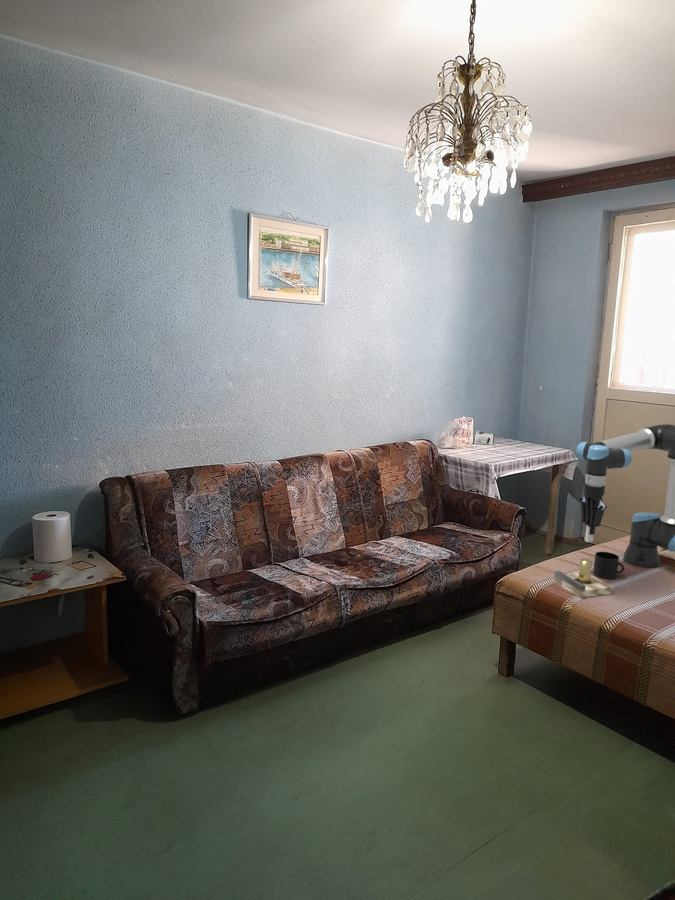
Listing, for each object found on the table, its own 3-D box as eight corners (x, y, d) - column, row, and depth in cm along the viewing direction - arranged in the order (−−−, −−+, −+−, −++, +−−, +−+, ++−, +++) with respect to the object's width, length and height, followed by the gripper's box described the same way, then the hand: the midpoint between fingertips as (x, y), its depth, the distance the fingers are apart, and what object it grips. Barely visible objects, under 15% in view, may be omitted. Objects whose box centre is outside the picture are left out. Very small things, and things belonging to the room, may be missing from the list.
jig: (585, 578, 270) (586, 567, 269) (612, 593, 255) (614, 582, 254) (553, 582, 264) (555, 571, 264) (580, 598, 250) (581, 586, 249)
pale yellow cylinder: (583, 585, 262) (586, 558, 260) (590, 589, 258) (594, 561, 256) (574, 586, 261) (577, 558, 259) (582, 590, 257) (585, 562, 255)
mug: (620, 583, 267) (622, 562, 265) (590, 575, 273) (592, 555, 272) (625, 576, 274) (627, 556, 272) (596, 569, 281) (598, 549, 279)
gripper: (575, 481, 256) (570, 536, 261) (598, 489, 244) (592, 547, 249) (591, 479, 258) (585, 535, 263) (614, 488, 246) (608, 545, 251)
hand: (588, 541), depth 256 cm, fingers closed
